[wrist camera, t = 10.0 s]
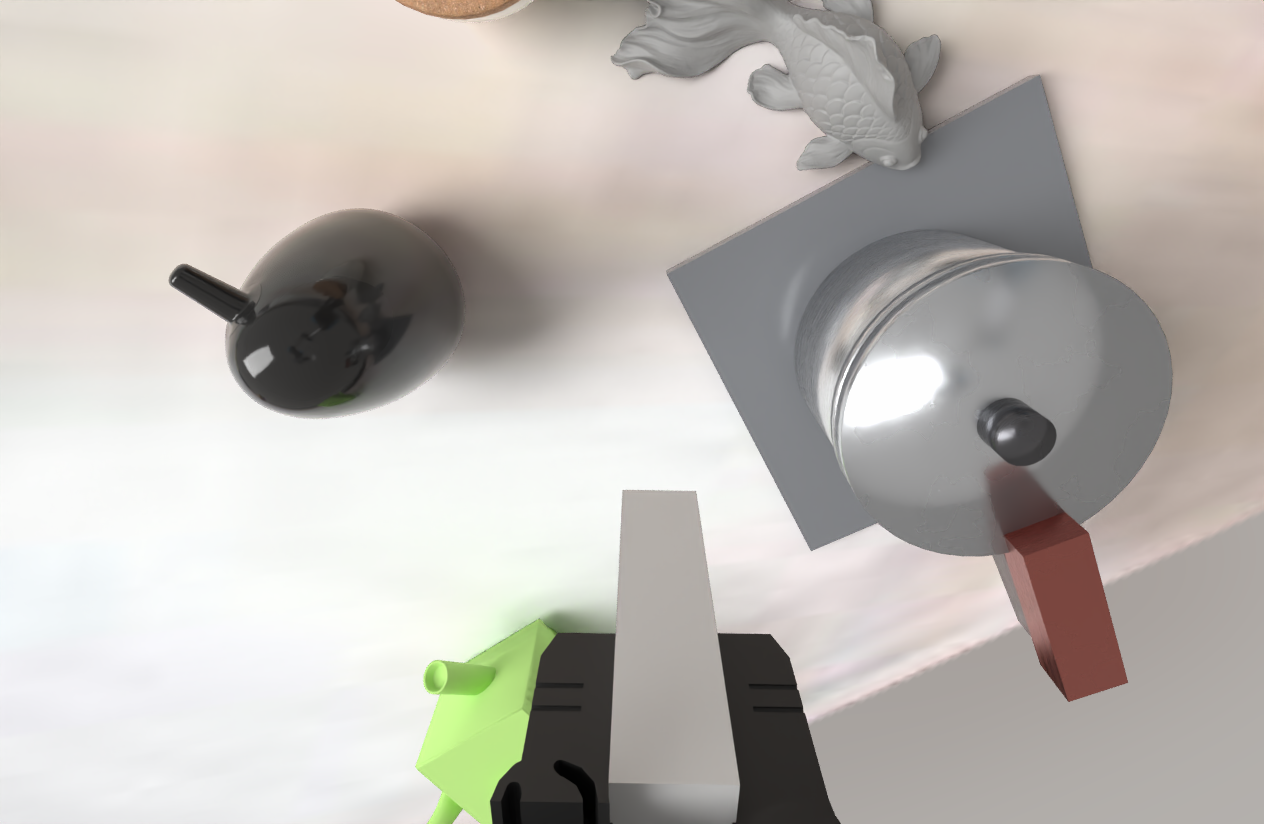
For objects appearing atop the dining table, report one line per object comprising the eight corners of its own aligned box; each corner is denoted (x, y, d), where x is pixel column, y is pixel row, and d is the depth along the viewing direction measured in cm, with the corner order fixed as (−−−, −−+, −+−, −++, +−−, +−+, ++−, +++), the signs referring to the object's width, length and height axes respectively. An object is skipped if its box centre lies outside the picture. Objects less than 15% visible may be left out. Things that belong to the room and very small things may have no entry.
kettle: (618, 753, 56) (614, 895, 46) (448, 737, 55) (405, 877, 45) (641, 611, 50) (642, 737, 40) (452, 591, 50) (403, 713, 39)
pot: (750, 299, 40) (785, 350, 31) (991, 175, 37) (1109, 191, 28) (886, 582, 48) (946, 690, 39) (1092, 497, 45) (1210, 592, 36)
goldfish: (539, 52, 34) (597, -137, 26) (600, -54, 39) (667, -245, 30) (854, 238, 39) (989, 126, 30) (878, 125, 43) (1002, 0, 35)
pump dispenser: (378, 158, 38) (227, 178, 24) (513, 292, 41) (450, 378, 27) (273, 281, 40) (82, 363, 27) (407, 398, 43) (298, 526, 29)
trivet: (1029, 76, 36) (1039, 74, 35) (1121, 407, 43) (1132, 413, 43) (666, 270, 40) (666, 274, 39) (807, 542, 48) (811, 551, 47)
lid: (790, 343, 30) (806, 367, 27) (1121, 195, 28) (1179, 203, 25) (935, 693, 38) (960, 740, 35) (1201, 603, 36) (1252, 646, 33)
